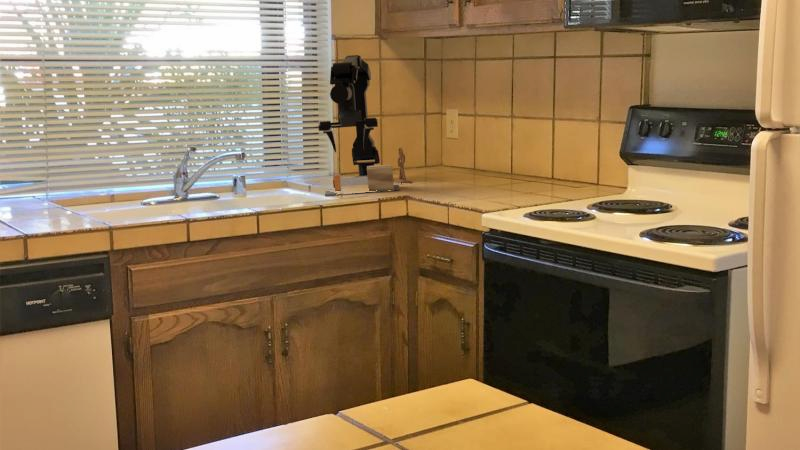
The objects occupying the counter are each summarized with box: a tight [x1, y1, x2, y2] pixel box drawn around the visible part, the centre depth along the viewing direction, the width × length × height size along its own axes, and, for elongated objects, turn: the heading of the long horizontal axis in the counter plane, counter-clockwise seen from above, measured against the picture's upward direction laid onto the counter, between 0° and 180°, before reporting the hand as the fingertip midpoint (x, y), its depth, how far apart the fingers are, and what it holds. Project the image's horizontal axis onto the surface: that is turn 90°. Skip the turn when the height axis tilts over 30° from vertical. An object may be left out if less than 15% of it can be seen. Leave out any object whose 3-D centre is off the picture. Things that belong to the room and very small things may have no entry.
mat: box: [324, 184, 401, 197], centre depth 295 cm, size 11×24×1 cm, turn 93°
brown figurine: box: [393, 147, 412, 185], centre depth 310 cm, size 9×4×12 cm, turn 15°
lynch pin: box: [332, 172, 368, 191], centre depth 294 cm, size 5×16×5 cm, turn 93°
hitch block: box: [367, 163, 395, 191], centre depth 294 cm, size 10×8×7 cm
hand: (350, 151), depth 291 cm, fingers open, 9 cm apart
